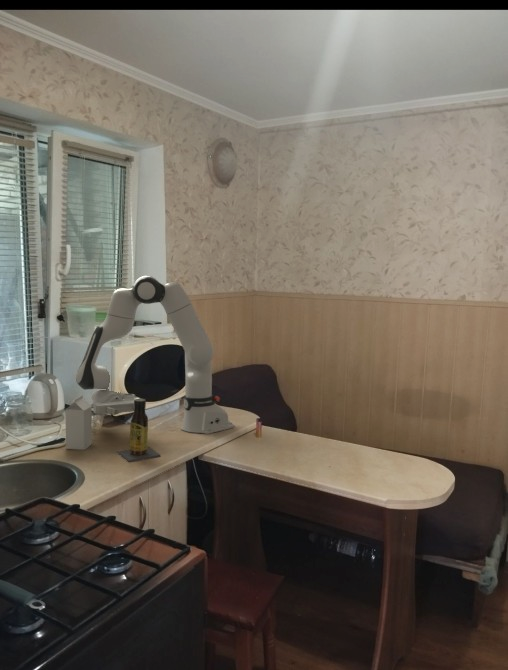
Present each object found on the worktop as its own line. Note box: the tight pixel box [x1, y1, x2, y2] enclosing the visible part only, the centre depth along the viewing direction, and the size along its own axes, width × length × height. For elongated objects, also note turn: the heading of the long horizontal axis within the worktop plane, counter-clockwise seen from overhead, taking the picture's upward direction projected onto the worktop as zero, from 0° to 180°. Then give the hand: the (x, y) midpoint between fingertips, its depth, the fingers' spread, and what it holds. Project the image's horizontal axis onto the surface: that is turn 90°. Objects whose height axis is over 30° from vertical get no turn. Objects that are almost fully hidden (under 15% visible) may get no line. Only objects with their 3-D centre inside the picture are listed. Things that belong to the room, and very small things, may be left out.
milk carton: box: [64, 394, 93, 451], centre depth 203 cm, size 7×7×19 cm
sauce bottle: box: [129, 397, 149, 455], centre depth 196 cm, size 7×6×20 cm
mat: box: [117, 445, 161, 463], centre depth 198 cm, size 12×11×1 cm
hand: (127, 410), depth 206 cm, fingers open, 8 cm apart
